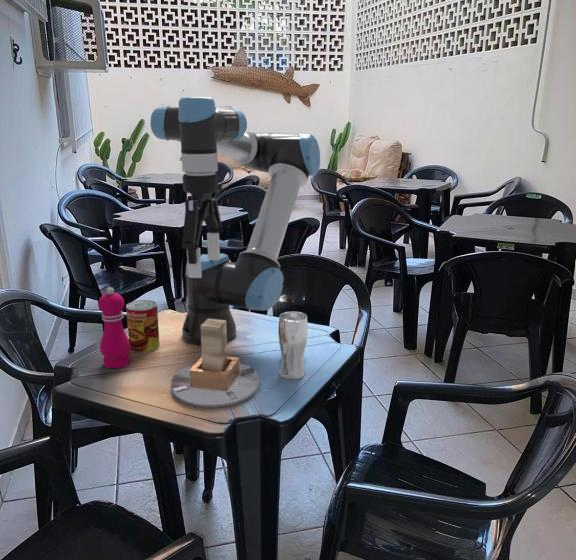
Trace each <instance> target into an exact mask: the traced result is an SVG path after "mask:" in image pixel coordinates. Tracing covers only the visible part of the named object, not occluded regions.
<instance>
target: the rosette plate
mask: <svg viewBox="0 0 576 560" xmlns="http://www.w3.org/2000/svg"><path fill="white" fill-rule="evenodd" d="M170 384H171V385H170V387H171V394H172V395H173V397H174V398H175V399H176V400H177V401H179V402H180V403H182V404H185V405H187V406H190V407H194V408H198V409H199V408H201V409H222V408H228V407H232V406H236V405H239V404H241V403H244V402H246V401H247V400H249V399H251V398H253V396H254V395H255V394H256V393H257V392H258V390H259V388H260V387H259V386H260V377H259V374H258V373H257V371H256V369H254V368H253V367H250V366H249V365H246V364H244V363H240V357H234V356H227V368H226V369H225V371H224V372H222V371H213V370H204V369H202V356H201V357H200V358H199V359H198V360H197V361H196V362H195V364H194V363H193V364H191V365H189V366H186V367H183V368H182V369H181V370H179V371H177V372H176V374H174V375H173V377H172V378H171V382H170Z"/></svg>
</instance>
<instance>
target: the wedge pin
mask: <svg viewBox="0 0 576 560" xmlns="http://www.w3.org/2000/svg"><path fill="white" fill-rule="evenodd" d="M200 347H201V348H200V349H201V357H202V369H204V370H213V371H222V372H224V371H225V369H226V368H227V357H228V341H227V330H226V320H216V319H207V320H206V321H205V322H204V323H203V324H202V325H201V345H200Z"/></svg>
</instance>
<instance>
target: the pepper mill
mask: <svg viewBox="0 0 576 560" xmlns="http://www.w3.org/2000/svg"><path fill="white" fill-rule="evenodd" d="M124 307H125V299H124V297H123V296H122V295H121V294H119V293H115V289H114V288H113V287H111V286H110V287H107V289H106V293H105V294H103V295H101V297H100V298H99V299H98V309H99V310H100V312H102V313H101V320H102V321H103V324H104V325H103V326H104V331H103V334H102V337H101V340H100V344H99V351H100V353H101V355H102V356H104V357H102V362H103V366H104V367H105V368H106V367H108V368H107V369H110V368H117V369H122V368H124V366H125V367H126V365H127V366H128V365H129V364H130V354H129V352H130V351H131V350H130V341H129V336H127V334H126V332H125V330H124V329H125V328H124V327H123V321H122V319H123V318H124V315H123V314H124V312H123V310H124ZM121 367H122V368H121Z"/></svg>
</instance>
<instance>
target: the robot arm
mask: <svg viewBox="0 0 576 560" xmlns="http://www.w3.org/2000/svg"><path fill="white" fill-rule="evenodd" d="M149 124H150V130H151V133H152V134H153V136H155V137H156V139H159V140H163V141H177V142H179V143H180V147H181V148H180V151H181V152H180V153H181V156H180V157H179V161H180V162H181V167H182V168H181V170H182V172H183V173H184V174H183V175H182V187H183V188H182V189H183V191H184V192H185V193H186V194H190V195H191V196H190V197H191V198H190V200H185V202H184V208H185V212H184V222H183V230H182V240H181V249H184V250H186V259H187V261H186V264H185V265H186V266H185V282H186V283H185V284H186V300H187V301H186V302H187V303H186V304H187V312H186V315H185V319H184V322H183V326H182V328H181V329H182V338H183V341H186V342H188V343H191V344H194V345H199V346H201V325H202V324H203V323H204V322H205V321H206V320H207V319H216V320H226V330H227V342H229V341H231V340H233V339H234V338H235V337H236V336H237V325H236V323H235V320H234V317H233V315H232V312H231V309H230V308H231V307H230V306H233V307H238V308H243V309H248V310H251V311H261V312H262V311H267V310H270V309H272V308H273V307H274V306H275V305H276V304H277V302H278V301H279V299H280V297H281V295H282V293H283V288H284V284H283V283H284V279H285V278H284V275H283V274H284V273H283V272H282V271H281V270H280V269H281V264H280V262H279V261H278V257H279V255H280V251H281V248H282V245H283V242H284V238H285V235H286V233H287V228H288V225H289V222H290V219H291V217H292V214H293V211H294V206H295V204H296V201H297V197H298V194H299V190H300V189H301V188H302V187H305V186H306V184H307V183H308V181H309V178H310V177H313V176H317V174H318V173H319V171H320V167H321V151H320V145H319V143H318V140H317V138H316V137H315V136H314V135H312V134H310V133H303V132H299V133H286V132H285V133H284V132H283V133H282V132H250V131H248V130H247V128H248V121H247V116H246V115H245V113H244V112H243V111H242V109H239V108H238V107H234V106H231V105H229V106H228V105H226V106H216V101H215V100H214V98H213V97H209V96H187V97H186V96H184V97H181V98H180V99H179V100H178V106H170V105H167V106H159V107H157V108H155V109H153V110H152V113H151V115H150V123H149ZM218 155H221V156H224V157H227V158H229V159H231V160H232V162H234V163H235V164H237V165H240V166H243V167H247V168H249V169H252V170H255V171H259V172H262V173H267V174H268V175H269V176H270V181H269V184H268V186H267V189H266V192H265V195H264V199H263V201H262V204H261V207H260V211H259V213H258V217H257V219H256V222H255V225H254V227H253V232H252V234H251V236H250V240H249V243H248V246H247V248H246V250H244V251H242V252H240V253H239V255H238V257H237V260H236V262H234V261H233V262H232V261H229V260H230V258H229V255H228V254H226V253H221V251H220V249H221V248H220V247H221V246H220V233H223V231H224V230H223V226H222V225H223V224H222V220H221V219H222V218H221V214H220V210H219V205H218V200H217V192H218V191H219V175H218V174H217V172H218V171H219V164H218ZM309 176H310V177H309ZM203 223H205V226H206V229H207V231H208V232H207V233H206V238H207V239H206V241H207V242H206V243H207V253H206V254H201V247H199V244H200V239H201V233H202V228H203Z"/></svg>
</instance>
